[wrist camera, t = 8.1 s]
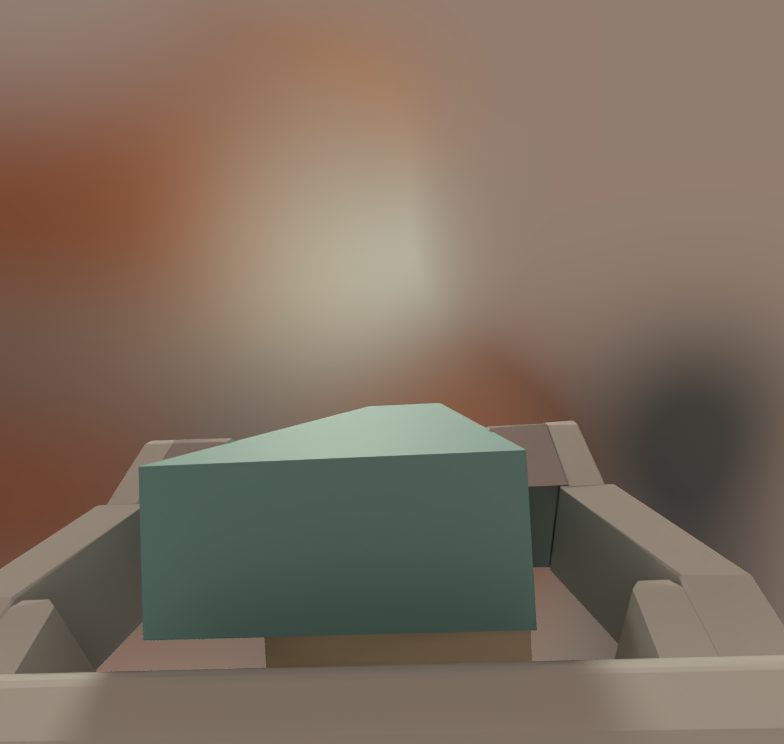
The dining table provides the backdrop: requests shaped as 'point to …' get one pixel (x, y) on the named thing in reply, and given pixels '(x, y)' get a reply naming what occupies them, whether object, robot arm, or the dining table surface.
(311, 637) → the birch stand
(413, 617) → the teal board
